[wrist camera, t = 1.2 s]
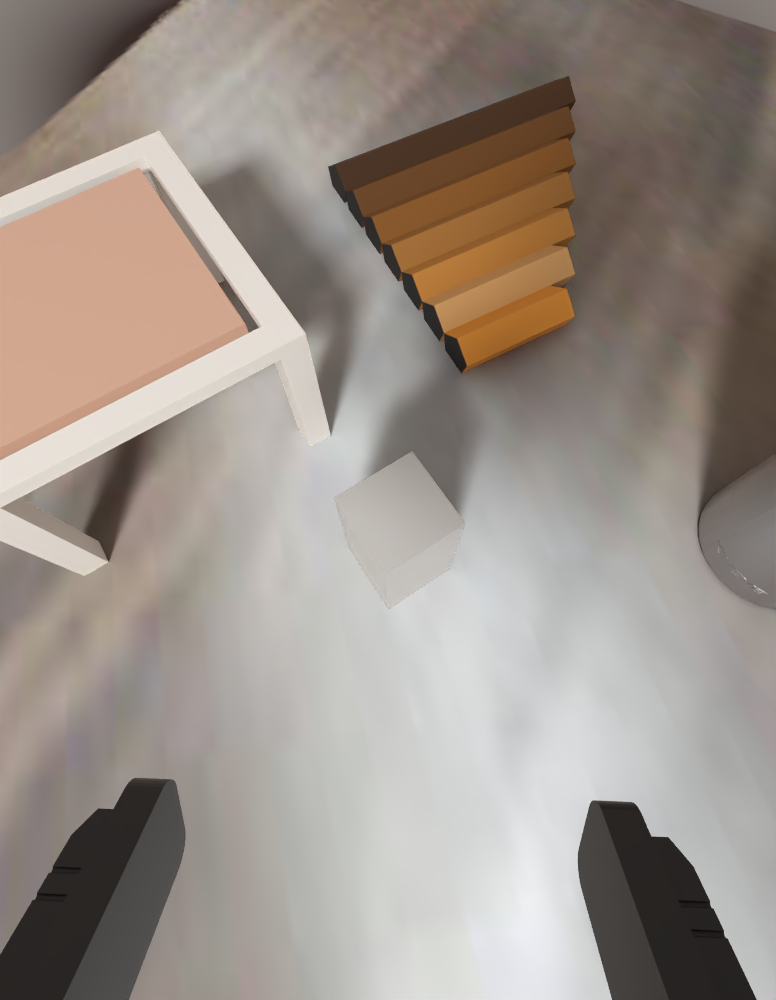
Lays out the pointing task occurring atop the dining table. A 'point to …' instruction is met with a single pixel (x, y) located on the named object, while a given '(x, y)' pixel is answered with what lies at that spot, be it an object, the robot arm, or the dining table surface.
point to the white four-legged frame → (173, 393)
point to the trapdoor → (99, 306)
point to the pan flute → (476, 220)
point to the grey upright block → (400, 528)
